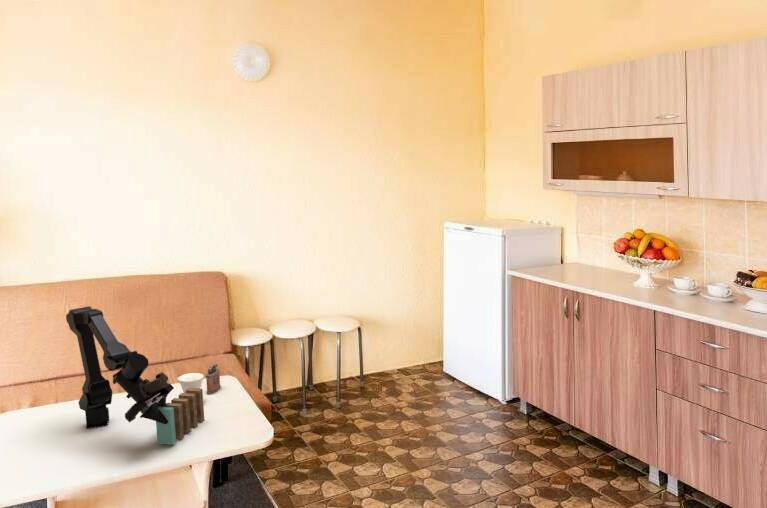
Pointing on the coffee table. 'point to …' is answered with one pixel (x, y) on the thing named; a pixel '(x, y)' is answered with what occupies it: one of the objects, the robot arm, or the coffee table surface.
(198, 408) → the tile
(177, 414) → the tile
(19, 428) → the coffee table surface
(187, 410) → the brown wooden block
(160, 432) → the tile
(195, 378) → the cup
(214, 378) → the lighter
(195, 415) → the brown wooden plank
